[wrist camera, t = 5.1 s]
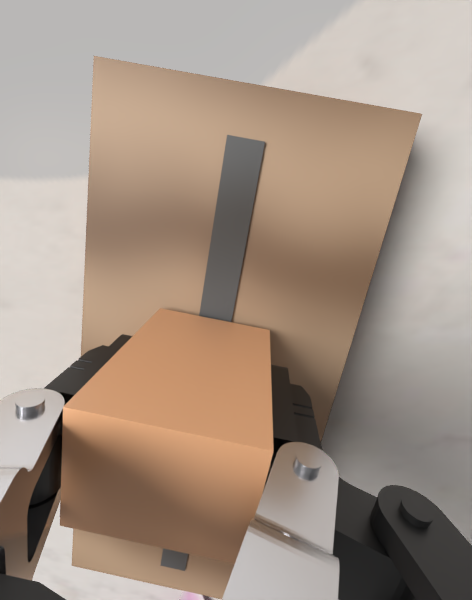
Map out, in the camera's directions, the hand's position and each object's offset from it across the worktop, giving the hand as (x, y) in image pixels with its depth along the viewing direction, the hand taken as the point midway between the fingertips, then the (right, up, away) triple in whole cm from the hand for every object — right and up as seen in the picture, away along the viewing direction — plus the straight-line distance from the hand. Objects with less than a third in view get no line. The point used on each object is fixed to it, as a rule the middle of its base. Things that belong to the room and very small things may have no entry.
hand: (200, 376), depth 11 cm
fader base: (0, -1, +5) cm, 5 cm away
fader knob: (0, 0, +1) cm, 1 cm away
